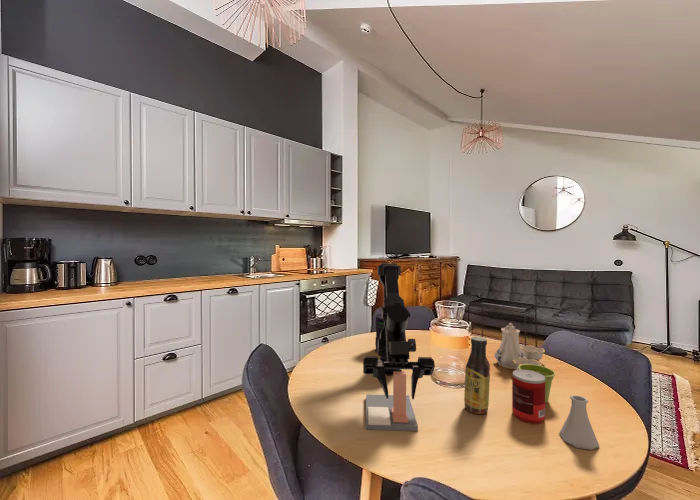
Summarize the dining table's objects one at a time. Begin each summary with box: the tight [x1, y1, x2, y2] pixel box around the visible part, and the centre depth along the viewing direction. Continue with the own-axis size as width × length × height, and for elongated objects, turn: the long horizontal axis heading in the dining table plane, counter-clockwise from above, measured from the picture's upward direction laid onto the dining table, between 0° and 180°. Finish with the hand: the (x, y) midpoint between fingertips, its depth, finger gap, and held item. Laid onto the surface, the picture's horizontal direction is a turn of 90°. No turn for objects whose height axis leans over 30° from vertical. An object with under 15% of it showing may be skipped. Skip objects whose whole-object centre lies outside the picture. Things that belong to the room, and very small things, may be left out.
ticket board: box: [365, 394, 419, 432], centre depth 86 cm, size 16×12×2 cm
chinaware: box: [493, 322, 546, 370], centre depth 120 cm, size 28×17×17 cm, turn 150°
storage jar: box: [374, 313, 384, 354], centre depth 138 cm, size 10×10×15 cm
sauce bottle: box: [463, 336, 491, 415], centre depth 88 cm, size 7×6×20 cm
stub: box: [392, 370, 408, 423], centre depth 82 cm, size 6×4×11 cm, turn 177°
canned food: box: [511, 369, 546, 425], centre depth 85 cm, size 8×8×11 cm
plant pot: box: [518, 364, 556, 404], centre depth 95 cm, size 9×9×9 cm
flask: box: [558, 394, 600, 451], centre depth 74 cm, size 7×7×10 cm
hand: (400, 398), depth 81 cm, fingers open, 6 cm apart
